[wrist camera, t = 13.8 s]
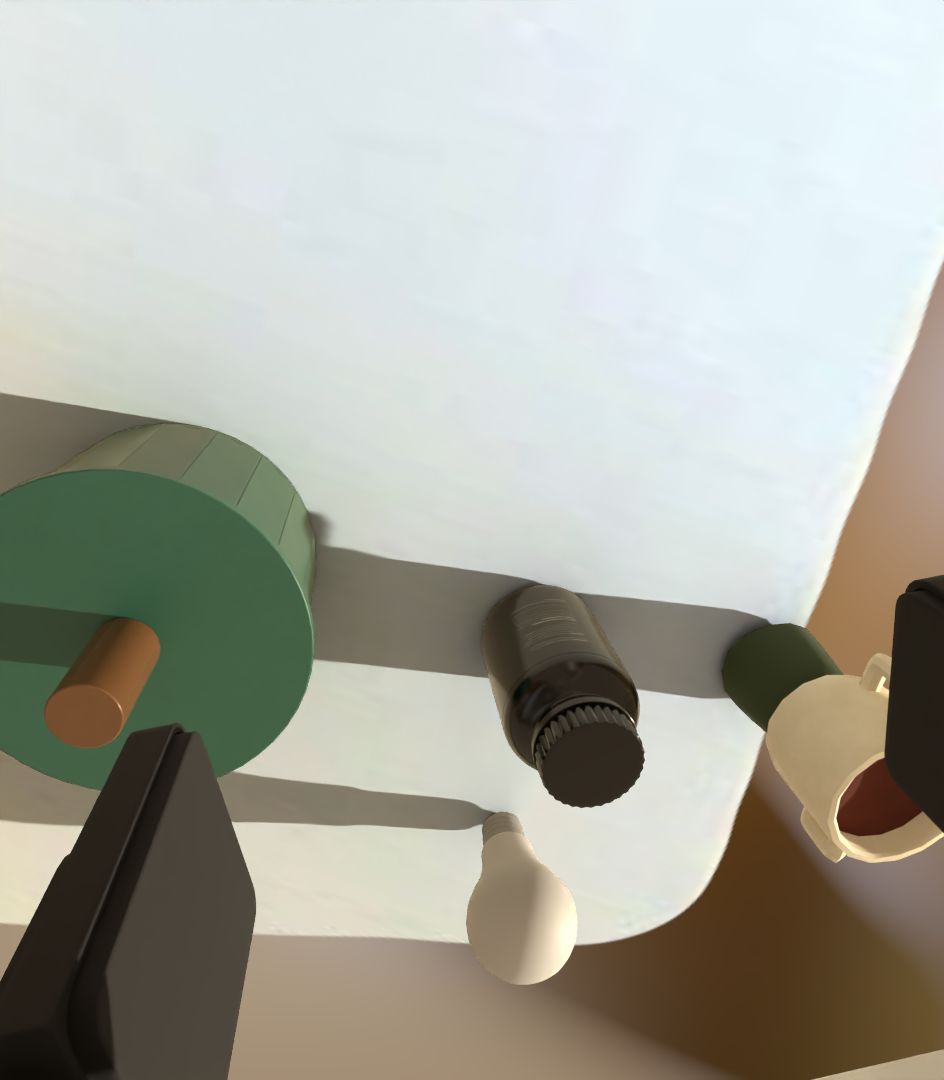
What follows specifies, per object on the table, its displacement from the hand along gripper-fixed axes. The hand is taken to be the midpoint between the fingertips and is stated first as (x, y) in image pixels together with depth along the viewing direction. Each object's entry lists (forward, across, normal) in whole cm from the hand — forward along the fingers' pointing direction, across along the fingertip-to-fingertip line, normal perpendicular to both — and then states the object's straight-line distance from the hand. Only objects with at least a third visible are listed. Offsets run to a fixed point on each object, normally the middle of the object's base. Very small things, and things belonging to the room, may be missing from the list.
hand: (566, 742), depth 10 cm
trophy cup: (+31, -18, +21) cm, 41 cm away
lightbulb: (+31, 0, +29) cm, 42 cm away
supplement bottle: (+31, -4, +16) cm, 35 cm away
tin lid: (+21, +14, +7) cm, 26 cm away
